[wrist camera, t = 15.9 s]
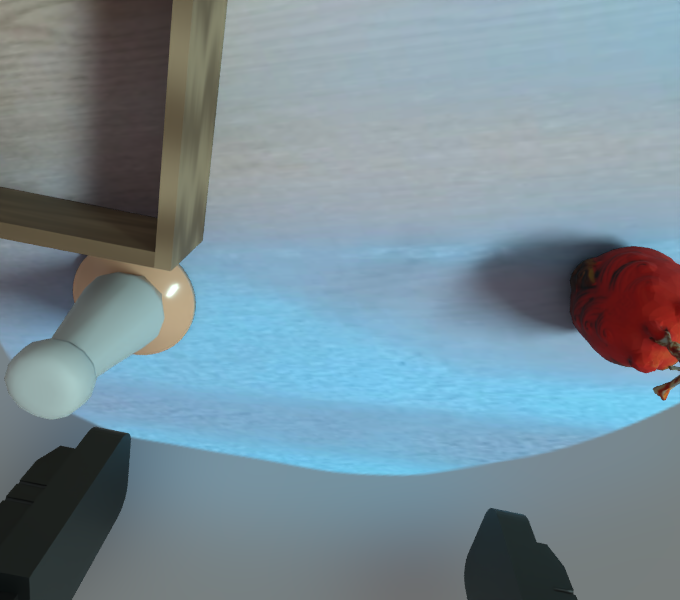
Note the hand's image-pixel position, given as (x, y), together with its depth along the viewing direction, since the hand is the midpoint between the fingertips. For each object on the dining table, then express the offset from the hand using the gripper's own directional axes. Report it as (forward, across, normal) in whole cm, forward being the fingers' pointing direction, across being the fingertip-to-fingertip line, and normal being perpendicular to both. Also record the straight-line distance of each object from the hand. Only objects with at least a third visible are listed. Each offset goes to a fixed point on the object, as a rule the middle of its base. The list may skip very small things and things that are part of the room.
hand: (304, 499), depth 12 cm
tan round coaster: (+27, +14, +10) cm, 32 cm away
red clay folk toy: (+28, -20, +2) cm, 34 cm away
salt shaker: (+27, +14, +10) cm, 32 cm away
